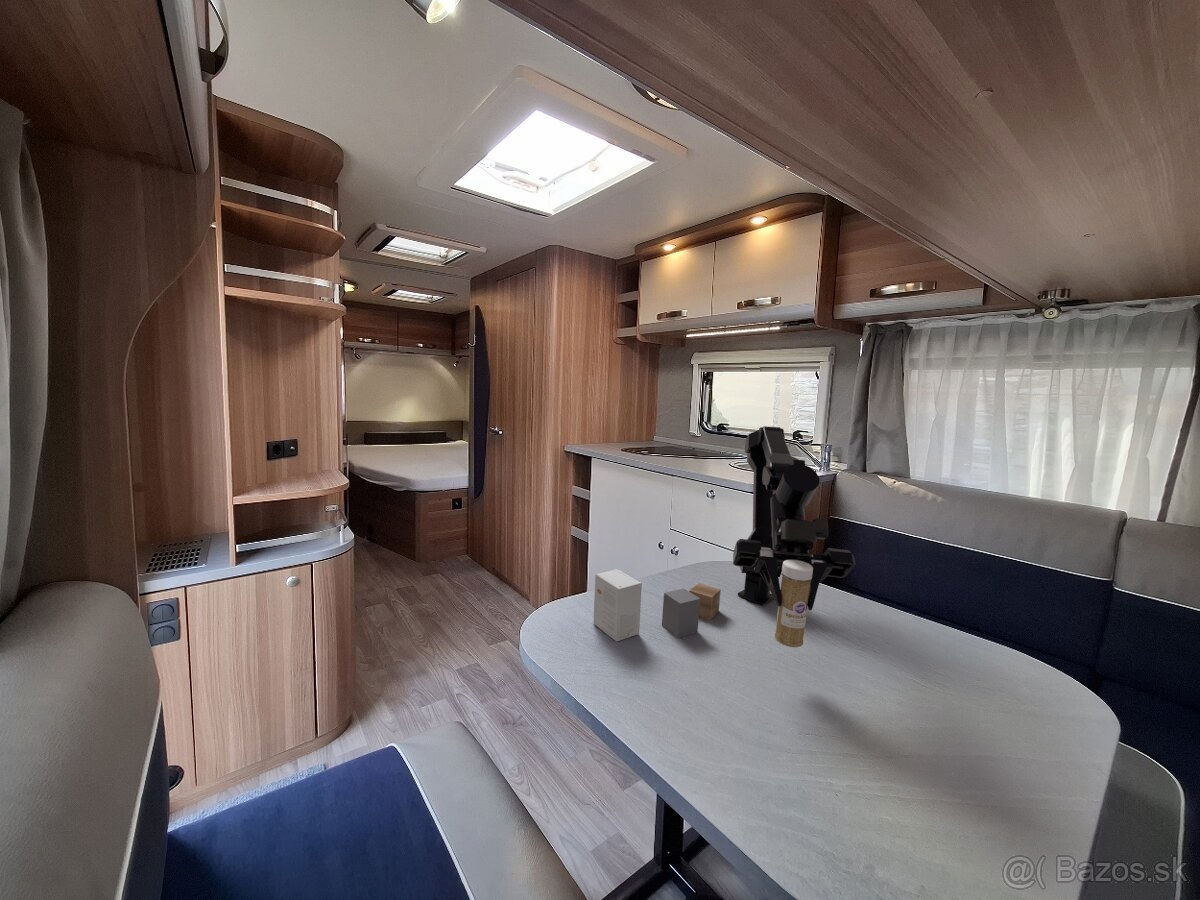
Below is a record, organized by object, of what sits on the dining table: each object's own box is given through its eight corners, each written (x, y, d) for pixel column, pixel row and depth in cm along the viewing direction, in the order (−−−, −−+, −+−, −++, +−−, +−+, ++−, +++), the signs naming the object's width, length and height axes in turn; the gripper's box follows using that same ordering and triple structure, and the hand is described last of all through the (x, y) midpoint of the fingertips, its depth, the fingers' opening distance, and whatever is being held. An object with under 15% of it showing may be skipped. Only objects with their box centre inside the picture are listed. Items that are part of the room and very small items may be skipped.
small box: (639, 635, 90) (643, 583, 89) (616, 642, 87) (619, 589, 86) (615, 616, 97) (617, 568, 95) (592, 623, 94) (595, 573, 92)
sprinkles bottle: (788, 650, 75) (798, 570, 73) (768, 636, 79) (776, 560, 77) (809, 645, 77) (819, 567, 75) (788, 631, 81) (797, 557, 79)
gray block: (681, 620, 97) (683, 588, 96) (697, 632, 92) (700, 598, 91) (661, 625, 94) (664, 592, 93) (677, 637, 90) (680, 603, 89)
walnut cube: (697, 604, 104) (699, 582, 104) (718, 611, 102) (720, 589, 101) (687, 612, 100) (689, 590, 100) (709, 620, 97) (711, 597, 97)
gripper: (741, 493, 80) (742, 581, 71) (859, 503, 77) (876, 597, 68) (732, 524, 89) (732, 606, 80) (838, 535, 85) (850, 621, 76)
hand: (794, 607), depth 76 cm, fingers closed on sprinkles bottle, 4 cm apart
